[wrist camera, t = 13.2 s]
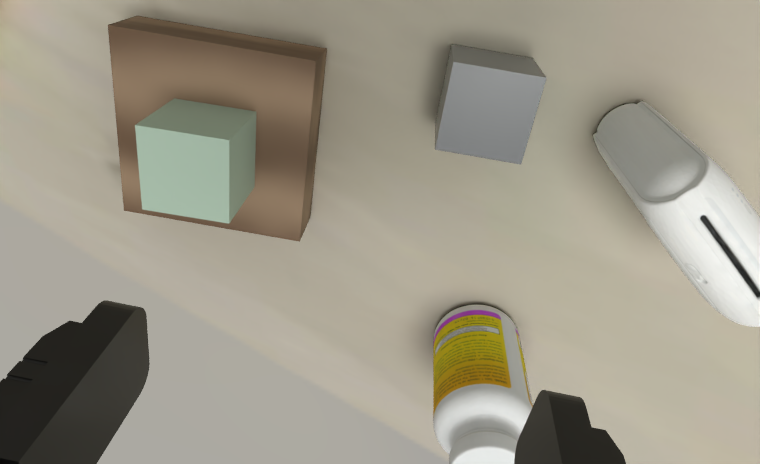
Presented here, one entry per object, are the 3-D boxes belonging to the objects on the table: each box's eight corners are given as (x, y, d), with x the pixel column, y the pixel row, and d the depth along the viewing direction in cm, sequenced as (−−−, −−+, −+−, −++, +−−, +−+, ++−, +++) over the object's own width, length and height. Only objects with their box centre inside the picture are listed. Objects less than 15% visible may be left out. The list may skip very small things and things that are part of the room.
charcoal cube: (451, 43, 34) (453, 61, 30) (532, 58, 34) (546, 77, 30) (435, 122, 37) (435, 149, 32) (511, 135, 37) (520, 164, 32)
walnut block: (140, 14, 35) (107, 24, 32) (328, 47, 35) (315, 61, 32) (150, 186, 41) (124, 210, 38) (311, 214, 41) (299, 241, 38)
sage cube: (174, 98, 34) (134, 125, 29) (256, 111, 34) (229, 140, 29) (177, 174, 36) (142, 209, 32) (254, 186, 36) (229, 223, 32)
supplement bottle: (416, 330, 45) (409, 466, 34) (481, 285, 42) (496, 417, 31) (470, 379, 47) (481, 523, 36) (535, 339, 44) (569, 480, 33)
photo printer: (722, 203, 37) (837, 317, 27) (662, 238, 39) (747, 359, 28) (641, 86, 34) (734, 162, 23) (580, 130, 36) (640, 219, 25)
